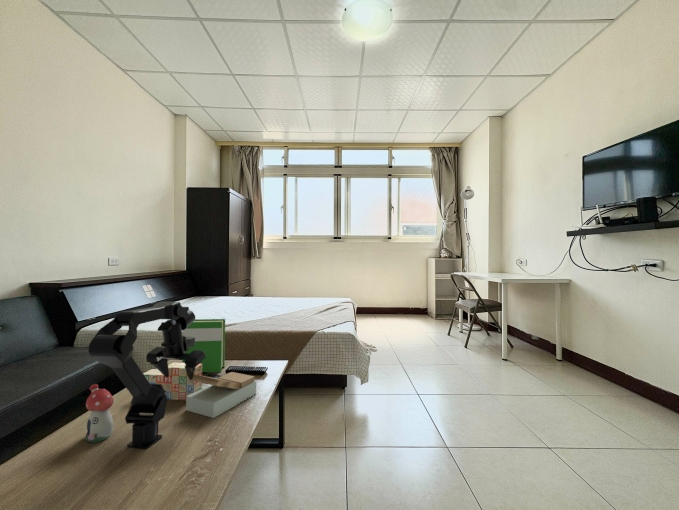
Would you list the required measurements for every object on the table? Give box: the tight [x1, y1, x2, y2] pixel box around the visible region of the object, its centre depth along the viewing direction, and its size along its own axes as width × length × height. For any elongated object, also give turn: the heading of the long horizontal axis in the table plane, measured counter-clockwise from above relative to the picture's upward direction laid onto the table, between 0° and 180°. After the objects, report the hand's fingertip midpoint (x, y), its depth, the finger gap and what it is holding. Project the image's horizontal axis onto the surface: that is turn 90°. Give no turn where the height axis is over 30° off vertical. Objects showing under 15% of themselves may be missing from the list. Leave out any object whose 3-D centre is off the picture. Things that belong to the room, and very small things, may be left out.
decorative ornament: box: [84, 383, 114, 444], centre depth 97 cm, size 9×6×15 cm
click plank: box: [192, 374, 240, 389], centre depth 118 cm, size 12×12×2 cm
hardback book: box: [181, 318, 226, 373], centre depth 156 cm, size 18×7×24 cm, turn 97°
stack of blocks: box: [142, 362, 203, 401], centre depth 126 cm, size 21×6×12 cm, turn 85°
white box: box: [185, 371, 257, 419], centre depth 121 cm, size 22×13×7 cm, turn 155°
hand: (179, 378), depth 111 cm, fingers open, 9 cm apart
